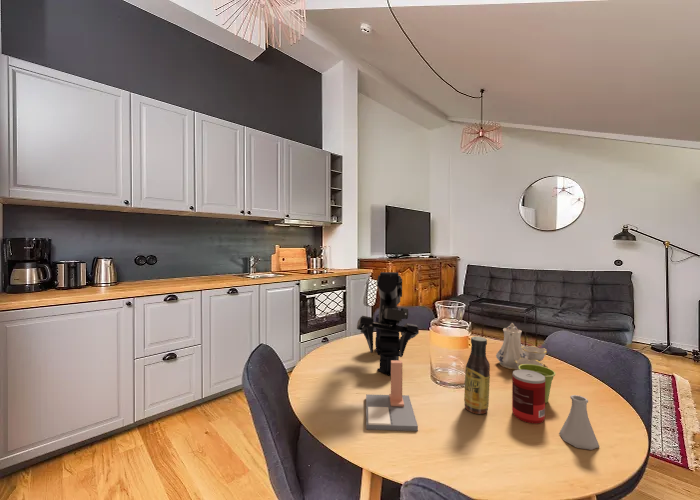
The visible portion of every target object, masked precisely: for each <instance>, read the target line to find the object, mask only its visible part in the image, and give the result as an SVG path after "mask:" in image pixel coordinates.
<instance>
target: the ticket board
mask: <svg viewBox="0 0 700 500" xmlns="http://www.w3.org/2000/svg"><path fill="white" fill-rule="evenodd" d="M402 397H403V401H404V407H402V406H391V404H390V398H389V394H365V414H366V416H365V418H366V419H365V421H366V422H365V424H366V427H365V428H366V429H365V430H374V431H404V432H405V431H407V432H408V431H409V432H418V431H419V425H418V422H417V421H418V420H417V418H416V416H415V412H414V408H413V405H412V401H411V399H410V395H408V394H407V395H404V394H402Z"/></svg>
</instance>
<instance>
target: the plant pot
mask: <svg viewBox="0 0 700 500" xmlns="http://www.w3.org/2000/svg"><path fill="white" fill-rule="evenodd" d="M518 368H519V370H530V371H534V372H537V373H540V374H542V375H543V376H544V377H545V404H547V403H548V402H549V398H550V392H551V387H552V384H553V383H552V381H553V380H554V377H555V376H556V372H555V371H554V370H553V369H551V368H549V367H547V366H539V365H533V364H522V365H519V367H518Z"/></svg>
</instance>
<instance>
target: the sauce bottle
mask: <svg viewBox="0 0 700 500" xmlns="http://www.w3.org/2000/svg"><path fill="white" fill-rule="evenodd" d="M470 344H471V350H470V354H469V357H468V360H467V362H466V365H465V372H464V373H465V375H464V377H465V378H464V398H463V400H464V401H463V402H464V407H465V409H466V410H467V411H468V412H471V413H472V414H476V415H484V414H486V413H488V411H489V403H490V381H491V377H490V376H491V375H490V370H491V363H490V362H489V360H488V359H487V353H486V352H487V344H488V340H487V339H486V338H485V337H482V336H472V337H471V338H470Z"/></svg>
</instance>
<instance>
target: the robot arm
mask: <svg viewBox="0 0 700 500" xmlns="http://www.w3.org/2000/svg"><path fill="white" fill-rule="evenodd" d="M376 287H378V295H379V309H378V314H379V322H376V321H374V317H371V316H366V315H361V316H360V318H359V319H358V320H357V324H356V330H358V331H360V333H361V334H363V336H364V337H365V340H366V342H367V345H368V346H367V347H368V349H369V351H370V353H371V354H372V353H374V329H376V328H378V329H381V330H380V336H379V338H378V339H377V352H376V353H377V356H380V357H379V367H378V368H377V369H376V370H377V371H379V372H380V373H382V374H384V375H387V376H389V377H391V360H399V359H400V358H403V356H404V353H405V351H406V347H407V345H408V343H409V341H410V340H411V339H414V338H415V337H416V336H418V334H420V330H419V326H418V325H417V324H413V323H408V322H406V323H405V324H404V325H399V324H400V323H401V322H402V321H403V320H408V318H409V308H405V307H404V308H403V307H402V308H400V309H399V307H398V305H399V304H400V303H401V298H403V278H402V277H401V275H400V274H399V272H397V271H396V272H393V271H387V272H385V271H381V272H380V273H379V274H378V276H377V281H376ZM397 324H398V326H397ZM400 334H401V336H400ZM399 361H400V360H399Z"/></svg>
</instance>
